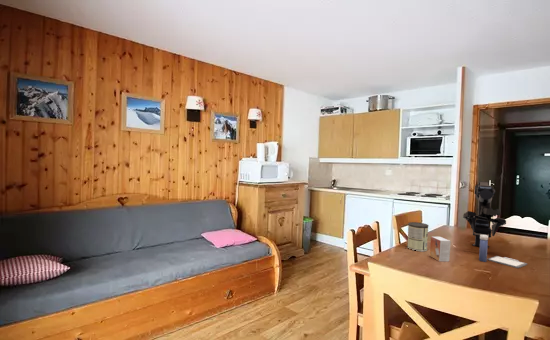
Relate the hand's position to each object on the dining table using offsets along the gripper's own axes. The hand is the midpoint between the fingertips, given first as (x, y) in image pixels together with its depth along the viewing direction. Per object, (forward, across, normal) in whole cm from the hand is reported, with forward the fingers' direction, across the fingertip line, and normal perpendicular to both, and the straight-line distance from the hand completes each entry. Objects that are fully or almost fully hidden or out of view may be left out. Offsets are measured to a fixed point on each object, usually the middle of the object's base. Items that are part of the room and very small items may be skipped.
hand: (483, 233), depth 159 cm
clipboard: (+13, +9, -3) cm, 16 cm away
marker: (+15, -2, -3) cm, 16 cm away
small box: (+21, -22, -5) cm, 31 cm away
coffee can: (+15, -30, +9) cm, 34 cm away
